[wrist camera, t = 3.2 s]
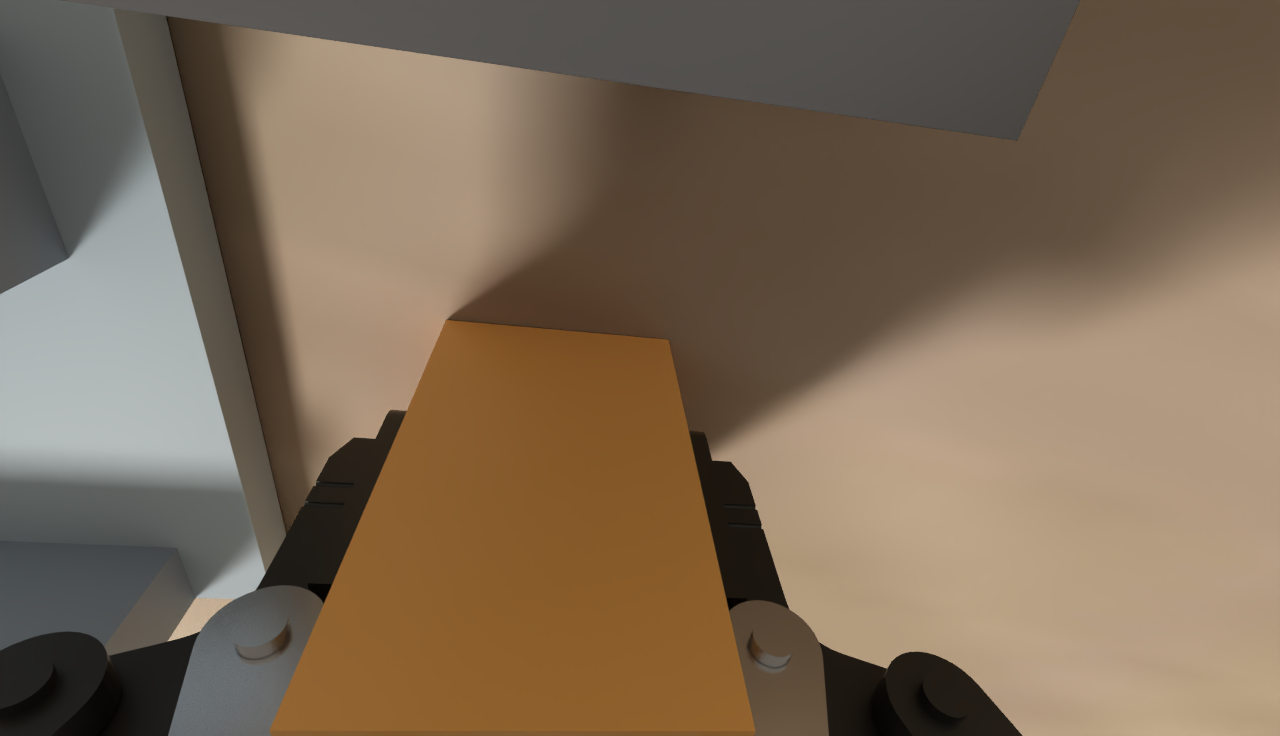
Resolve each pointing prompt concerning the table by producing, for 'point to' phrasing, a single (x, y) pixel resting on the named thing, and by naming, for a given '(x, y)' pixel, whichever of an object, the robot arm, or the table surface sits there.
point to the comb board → (116, 343)
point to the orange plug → (529, 557)
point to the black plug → (718, 46)
